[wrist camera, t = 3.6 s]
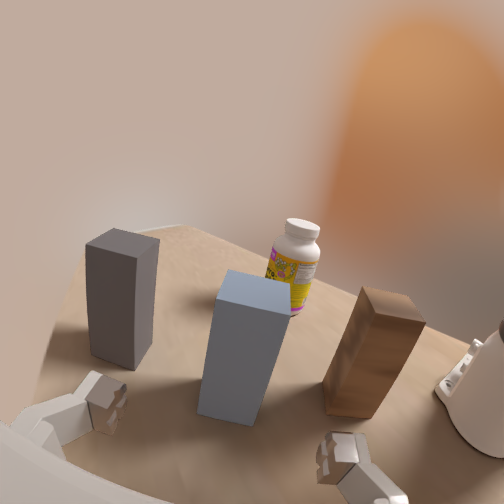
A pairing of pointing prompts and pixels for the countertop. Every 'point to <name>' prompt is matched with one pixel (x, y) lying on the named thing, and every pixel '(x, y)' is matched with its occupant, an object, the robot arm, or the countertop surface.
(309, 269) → the supplement bottle
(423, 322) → the walnut block
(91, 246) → the charcoal block
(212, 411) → the slate-blue block
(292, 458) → the countertop surface
